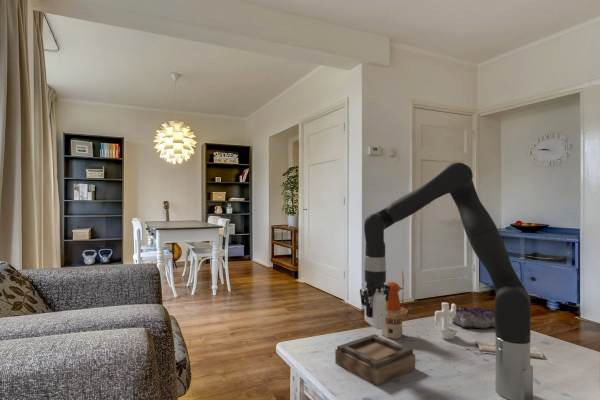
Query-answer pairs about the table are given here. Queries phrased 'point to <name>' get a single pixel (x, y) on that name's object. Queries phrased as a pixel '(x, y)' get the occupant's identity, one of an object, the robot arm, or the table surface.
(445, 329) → the figurine
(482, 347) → the newspaper
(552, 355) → the table surface
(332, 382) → the table surface
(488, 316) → the geode
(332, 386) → the table surface
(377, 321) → the photo printer
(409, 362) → the walnut plinth
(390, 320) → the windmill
